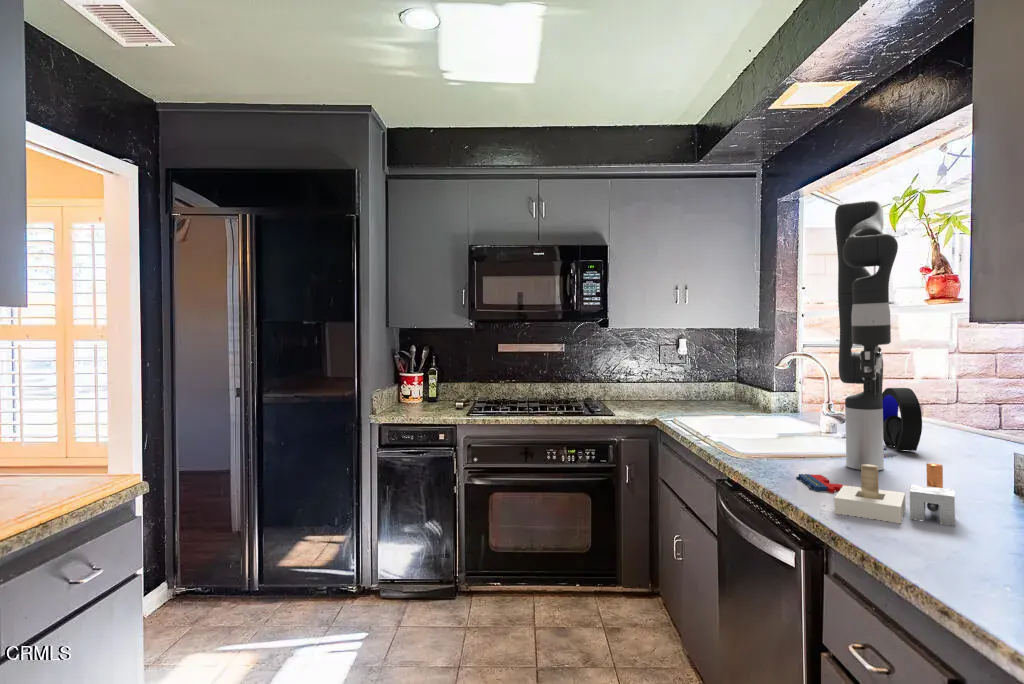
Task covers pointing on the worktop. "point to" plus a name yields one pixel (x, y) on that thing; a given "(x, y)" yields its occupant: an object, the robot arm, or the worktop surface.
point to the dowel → (869, 481)
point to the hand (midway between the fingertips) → (871, 394)
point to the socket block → (870, 504)
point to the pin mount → (934, 496)
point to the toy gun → (819, 483)
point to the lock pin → (934, 481)
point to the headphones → (901, 419)
